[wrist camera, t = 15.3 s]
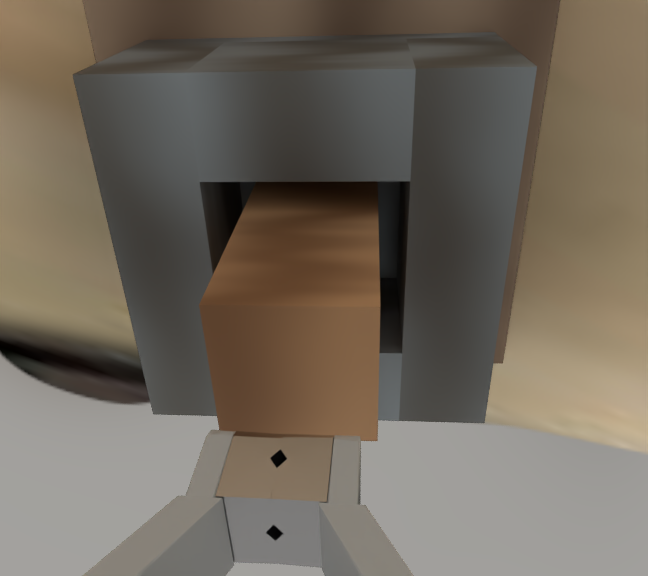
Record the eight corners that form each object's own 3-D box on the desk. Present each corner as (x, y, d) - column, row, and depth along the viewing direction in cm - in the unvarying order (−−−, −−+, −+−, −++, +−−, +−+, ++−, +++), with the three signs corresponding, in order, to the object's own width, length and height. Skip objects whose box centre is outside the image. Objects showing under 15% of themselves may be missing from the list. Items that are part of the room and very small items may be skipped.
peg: (377, 157, 21) (380, 306, 13) (375, 255, 23) (377, 441, 15) (267, 157, 22) (199, 304, 13) (275, 254, 24) (220, 436, 15)
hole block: (557, -39, 20) (639, -27, 14) (498, 349, 28) (533, 464, 22) (89, -25, 21) (-25, -8, 15) (165, 344, 29) (112, 451, 23)
